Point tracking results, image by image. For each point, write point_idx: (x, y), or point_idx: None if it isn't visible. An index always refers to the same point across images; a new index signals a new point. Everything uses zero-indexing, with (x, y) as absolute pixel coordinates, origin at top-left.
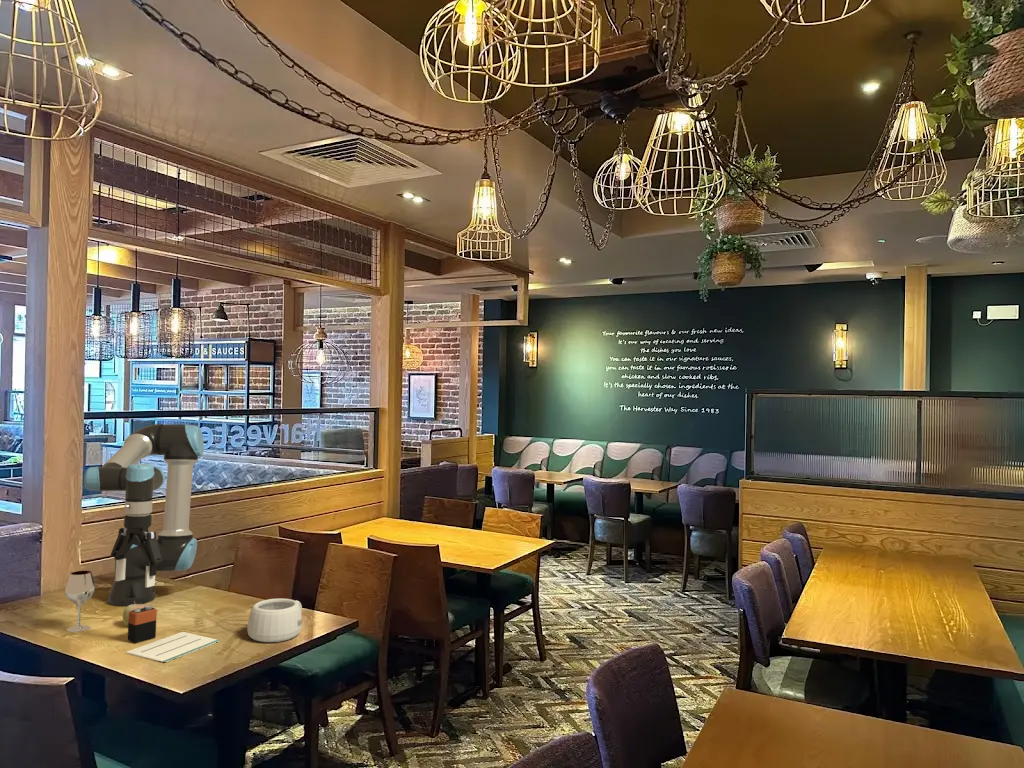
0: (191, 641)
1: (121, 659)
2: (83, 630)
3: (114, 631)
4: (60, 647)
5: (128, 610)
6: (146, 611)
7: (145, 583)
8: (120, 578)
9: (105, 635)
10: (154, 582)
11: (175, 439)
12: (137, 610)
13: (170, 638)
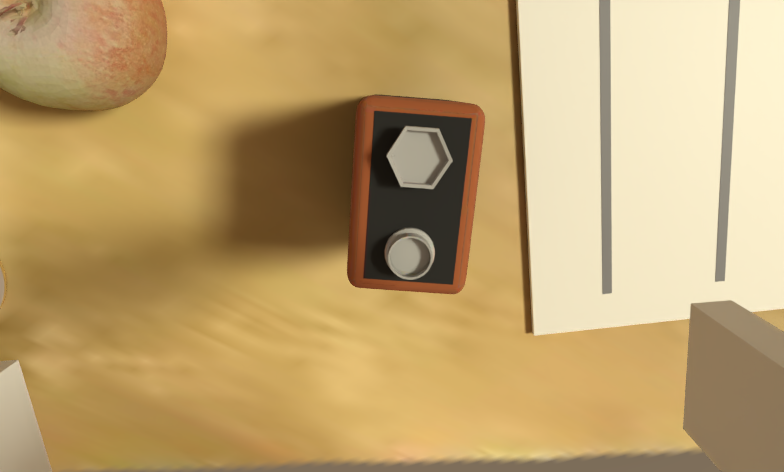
0: (719, 21)
1: (587, 383)
2: (3, 279)
3: (140, 177)
4: (190, 456)
5: (65, 94)
6: (471, 205)
7: (720, 465)
8: (19, 450)
9: (174, 245)
10: (767, 330)
11: None
12: (429, 265)
13: (558, 67)
